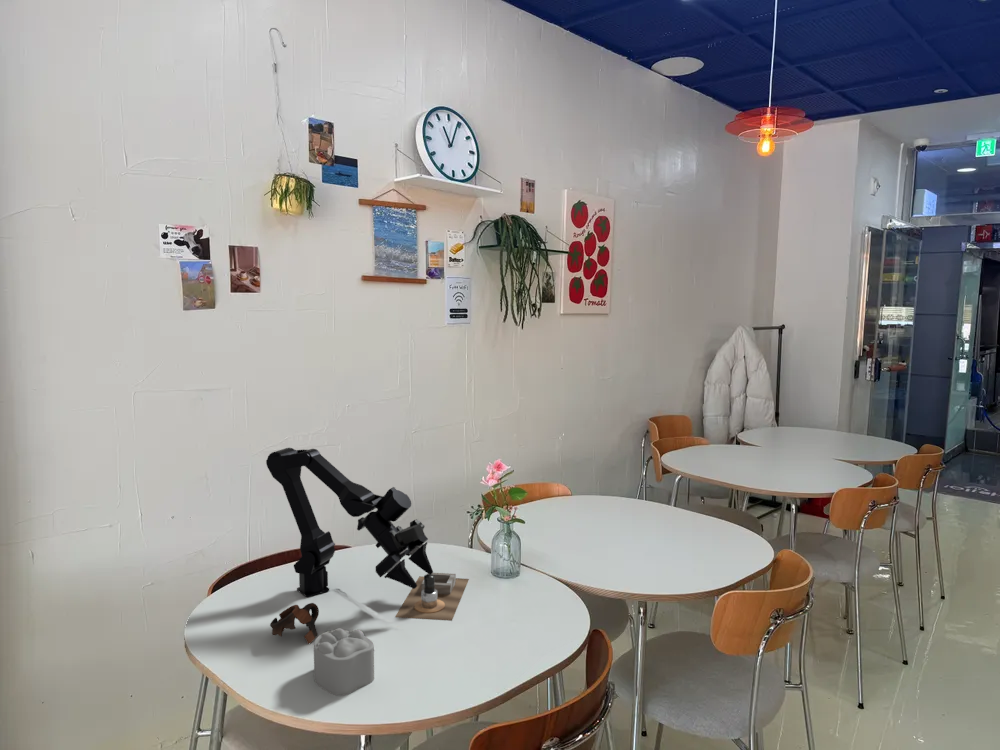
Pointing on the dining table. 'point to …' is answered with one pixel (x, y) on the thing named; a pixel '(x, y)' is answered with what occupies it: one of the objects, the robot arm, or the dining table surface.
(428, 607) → the nail polish bottle
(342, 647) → the grey paw block
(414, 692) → the dining table surface
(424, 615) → the brown wooden board
